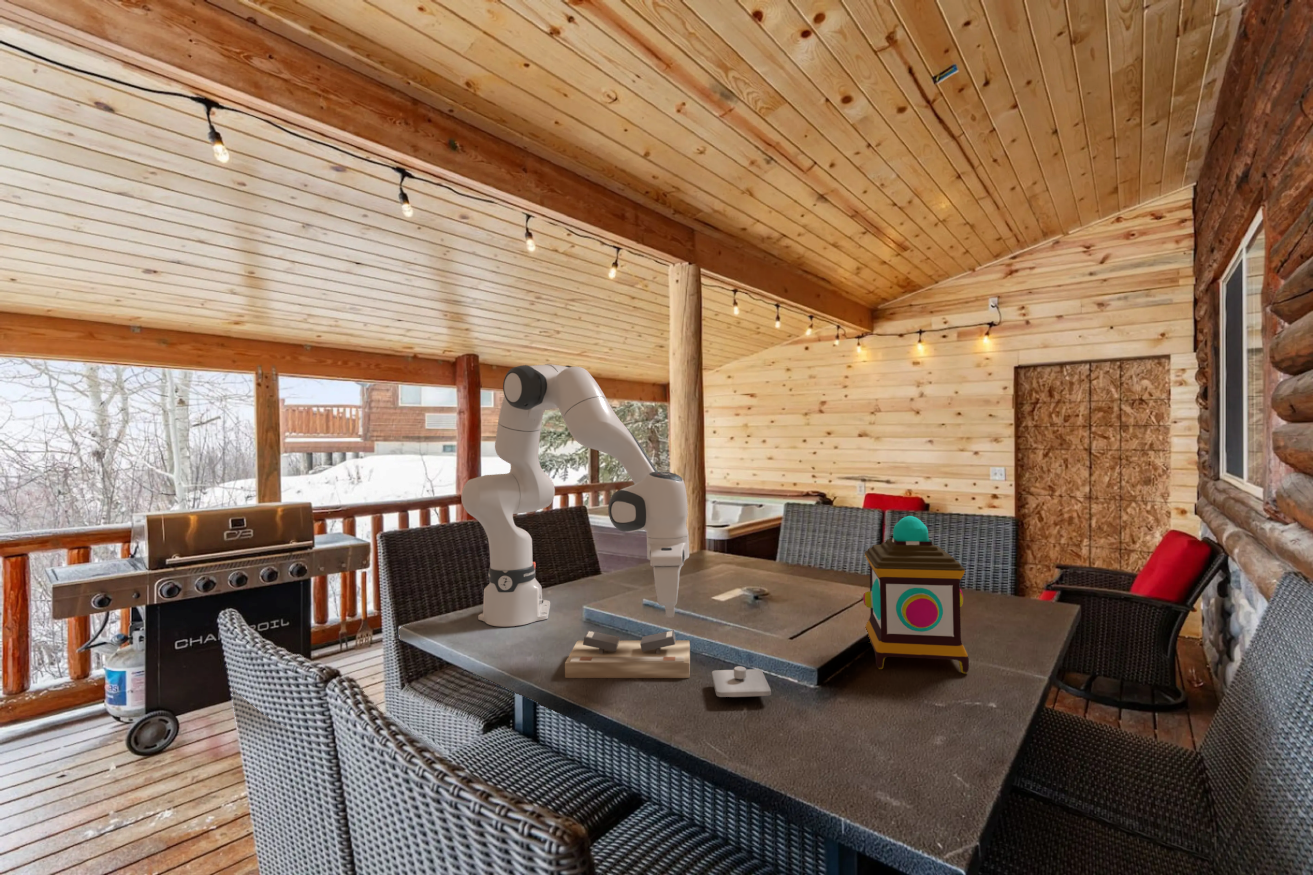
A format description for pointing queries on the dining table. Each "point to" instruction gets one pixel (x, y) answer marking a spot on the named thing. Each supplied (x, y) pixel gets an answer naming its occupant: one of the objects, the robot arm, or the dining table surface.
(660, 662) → the switch panel
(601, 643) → the plate
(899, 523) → the decorative lantern
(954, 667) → the dining table surface
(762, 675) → the light switch
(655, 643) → the plate
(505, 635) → the dining table surface
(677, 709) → the dining table surface
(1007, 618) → the dining table surface
